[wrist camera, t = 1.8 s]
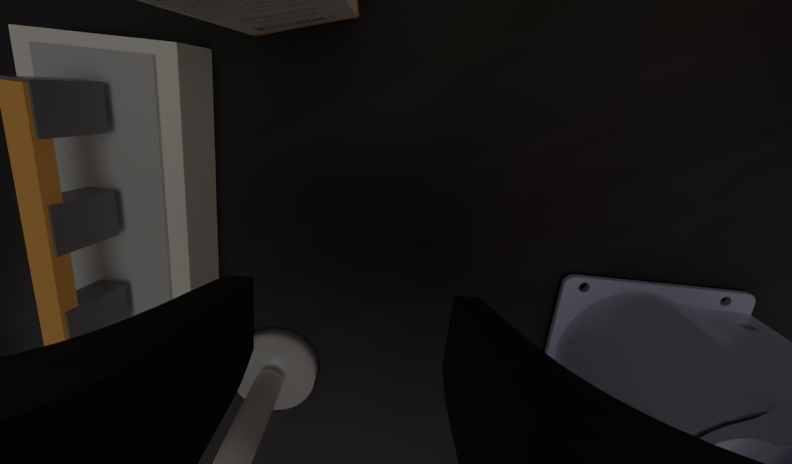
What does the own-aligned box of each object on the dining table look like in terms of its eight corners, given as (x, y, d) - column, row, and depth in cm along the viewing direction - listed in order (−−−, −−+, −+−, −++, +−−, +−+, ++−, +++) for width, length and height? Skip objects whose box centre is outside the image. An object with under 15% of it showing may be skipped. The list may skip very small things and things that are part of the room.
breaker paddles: (102, 81, 15) (24, 78, 13) (129, 322, 19) (69, 358, 16) (74, 78, 16) (-9, 74, 13) (105, 316, 19) (43, 351, 16)
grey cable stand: (319, 332, 23) (249, 539, 12) (316, 400, 24) (250, 638, 14) (236, 324, 23) (94, 525, 12) (237, 393, 24) (110, 627, 14)
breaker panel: (211, 49, 18) (174, 41, 15) (220, 317, 23) (192, 353, 20) (69, 33, 18) (3, 23, 15) (104, 306, 22) (57, 341, 19)
